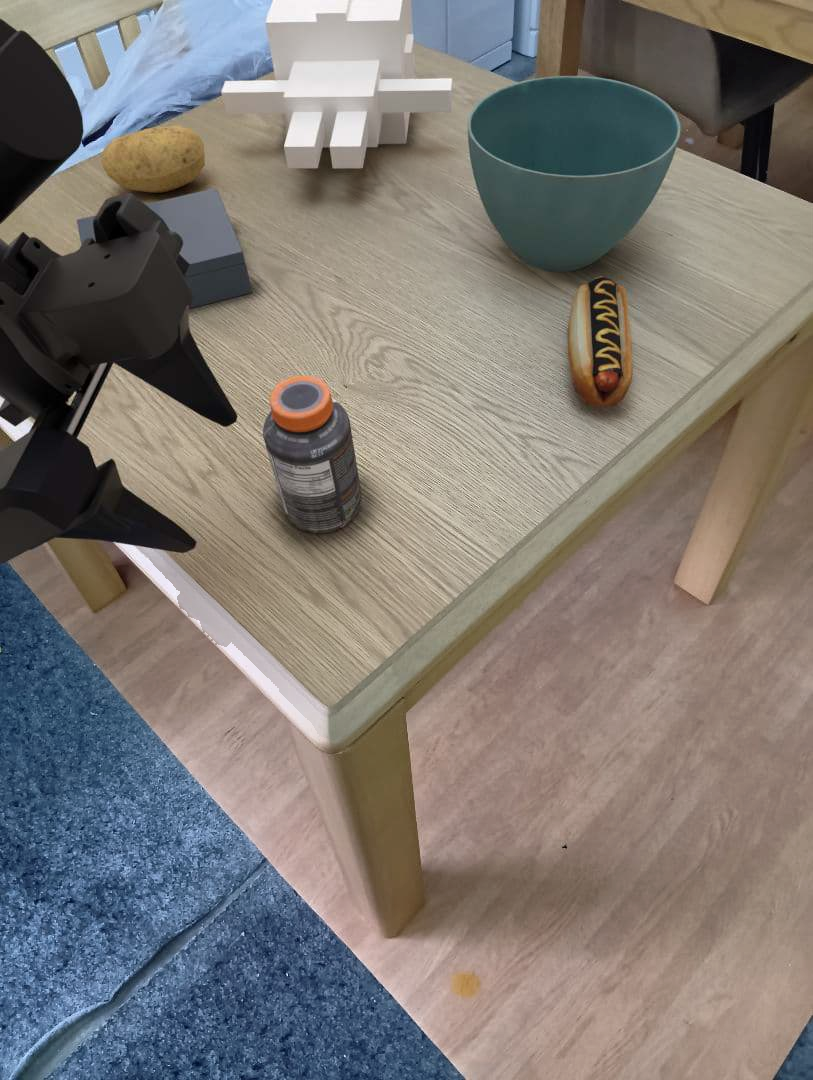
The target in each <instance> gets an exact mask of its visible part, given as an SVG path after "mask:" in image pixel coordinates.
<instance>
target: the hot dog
mask: <svg viewBox="0 0 813 1080" xmlns="http://www.w3.org/2000/svg"><path fill="white" fill-rule="evenodd" d="M570 307H571V308H570V312H569V313H570V315H569V320H568V326H567V359H568V363H569V368H570V373H571V378H572V383H573V386H574V390H575V392H576V393H577V394H578V395H579V396H580V397H581V399H582V400H583V401H584V402H585V404H586V405H589V406H592V407H597V408H610V407H616V406H618V404H620V403H621V402H622V401H623V400H624V398H625V396H626V394H627V393H628V390H629V388H630V386H631V384H632V380H633V350H632V338H631V327H630V317H629V307H628V298H627V292H626V288H625V286H622V285H620V284H618V283H616V282H615V281H614V280H613V279H611V278H609V277H607V276H604V275H601V276H598V277H595V278H594V279H593V280H591V281H589V282H587V283H585V284H581V285H580V286H579V287H578V289H577V290H576V292H575V294H574V296H573V297H572V299H571V306H570Z"/></svg>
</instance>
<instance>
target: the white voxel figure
mask: <svg viewBox="0 0 813 1080" xmlns="http://www.w3.org/2000/svg"><path fill="white" fill-rule="evenodd" d="M412 6H413V5H412V0H272V1H271V4H270V7H269V9H268V13H267V16H266V19H265V21H264V25H265V31H266V35H267V40H268V45H269V51H270V57H271V62H272V68H273V73H274V77H275V80H273V79H272V80H267V79H266V80H224V84H223V86H222V89H221V92H220V93H221V97H222V102H223V106H224V109H225V114H226V115H248V114H249V115H254V114H255V115H256V114H257V115H259V114H261V115H263V114H264V115H266V114H271V115H272V114H273V115H274V114H282V121H283V126H284V131H285V141H284V144H283V150H284V155H285V160H286V166H287V169H318V168H319V165H320V159H321V156H322V153H323V152H322V151H323V148H329V151H330V152H329V153H330V159H331V166H332V169H363V168H364V164H365V159H366V158H365V157H366V152H367V148H378V146H379V145H407V137H408V133H409V132H408V131H409V125H410V116H411V113H452V108H453V107H452V106H453V78H452V77H448V78H439V77H438V78H415V75H416V60H415V59H416V58H415V57H416V56H415V35H414V32H413V31H414V30H413V9H412Z"/></svg>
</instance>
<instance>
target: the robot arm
mask: <svg viewBox="0 0 813 1080" xmlns="http://www.w3.org/2000/svg"><path fill="white" fill-rule="evenodd" d="M83 136H84V120H83V114H82V111H81V108H80V104H79V100H78V99H77V96H76V94H75V92H74V90H73V89H72V87H71V85H70V82H69V81H68V80H67V77H66V76H65V74H64V73H63V71H62V70H61V69H60V68H59V66H58V64H57V62H55V60H53V58H52V57H51V56H50V55H49V54H48V53H47V51H46V50H45V49H44V47H42V45H41V44H39V42H38V41H37V40H35V38H33V37H32V35H31V34H29V33H28V32H26V31H25V30H22V29H20V30H17V29H16V28H14V27H13V26H12V25H11V24H9V23H8V22H6V21H5V20H4V19H2V18H0V225H2V223H4V222H5V221H6V220H7V218H9V217H10V216H11V215H12V214H13V213H14V212H15V211H16V210H17V209H18V208H19V207H20V206H21V205H22V204H23V203H25V201H26V200H27V199H29V198H30V196H31V195H32V194H33V193H34V192H36V191H37V190H38V189H39V188H40V187H41V186H42V185H43V184H44V183H45V182H46V181H47V180H48V179H49V178H50V177H51V176H52V175H53V174H54V173H55V172H56V171H58V170H59V168H61V166H62V165H64V164H65V163H66V161H68V160H69V159H70V158H71V157H72V156H73V155H74V154H75V153H76V152H77V151H78V150H79V148H80V146H81V145H82V141H83ZM145 204H146V203H144V202H143V201H142V200H141V199H140V198H138V197H137V196H136V195H135V194H134V193H132V192H126V193H123V194H119V195H115V196H112V197H111V196H110V197H108V198H106V199H105V200H104V201H103V203H102V204H101V207H100V208H99V210H98V211H97V213H96V214H95V215H96V216H95V215H94V216H95V218H94V220H93V229H94V235H95V241H96V242H95V241H94V239H93V238H92V237H91V238H87V239H85V240H84V242H83V243H82V245H81V244H80V247H79V249H77V250H76V251H73V252H70V253H67V254H64V255H61V254H60V253H58V252H57V251H54V250H53V249H51V248H50V247H49V246H48V245H46V243H44V242H43V241H42V240H40V238H37V237H34V236H31V237H30V236H29V235H27V234H26V233H25V232H24V231H22V232H21V233H19V235H18V236H16V237H15V238H14V239H13V240H12V241H11V242H10V243H7V242H6V241H5V240H3V239H2V238H0V398H1V399H4V400H3V402H2V404H1V405H0V418H1V419H3V420H4V421H6V422H8V423H9V424H10V425H12V426H13V427H17V426H19V425H20V424H22V423H23V422H24V421H26V420H28V419H29V418H32V419H33V420H34V422H33V424H32V425H31V428H30V430H29V432H27V433H25V434H24V435H22V436H21V437H19V438H18V439H17V440H15V441H14V442H12V443H11V444H9V445H8V446H6V447H4V448H3V449H2V450H0V565H3V564H5V563H6V562H8V561H10V560H12V559H15V558H16V557H18V556H20V555H22V554H24V553H26V552H28V551H31V550H34V549H36V548H38V547H40V546H42V545H44V544H46V543H48V542H50V541H52V540H54V539H72V540H73V539H74V540H92V541H102V542H108V543H116V544H121V545H122V544H124V545H129V546H134V547H141V548H146V549H147V548H148V549H153V550H159V551H166V552H173V553H179V554H185V553H187V552H190V551H192V550H195V549H196V546H197V540H196V539H195V538H194V537H193V536H192V535H190V534H189V533H188V532H187V531H186V530H185V529H184V528H182V526H180V525H179V524H177V522H175V521H173V520H172V519H171V518H169V517H168V516H167V515H165V514H163V513H162V512H160V511H159V510H158V509H156V508H155V507H153V505H150V504H149V503H148V502H146V501H145V500H143V499H142V498H140V497H139V496H138V495H136V494H135V493H133V492H132V491H131V490H130V489H128V488H126V487H125V486H124V484H123V482H122V480H121V476H120V473H119V470H118V466H117V464H116V461H115V460H114V459H113V458H110V459H108V460H106V461H105V462H103V463H101V464H99V465H98V466H96V463H95V461H94V457H93V455H92V451H91V449H90V446H88V444H86V443H84V442H83V441H81V440H80V439H79V438H78V437H79V435H80V433H81V431H82V428H83V427H84V424H85V423H86V420H87V418H88V417H89V414H90V412H91V410H92V409H93V406H94V405H95V403H96V400H97V398H98V396H99V395H100V392H101V390H102V387H103V385H104V383H105V381H106V379H107V377H108V375H109V373H110V371H111V370H112V367H113V365H117V366H118V367H120V368H122V369H123V370H125V371H126V372H128V373H130V374H132V375H133V376H135V377H136V378H138V379H139V380H142V381H143V382H145V383H147V384H148V385H150V386H151V387H153V388H155V389H156V390H158V391H160V392H161V393H162V394H165V395H166V396H168V397H170V398H171V399H173V400H175V401H176V402H178V403H179V404H181V405H182V406H184V407H186V408H188V409H189V410H191V411H192V412H194V413H196V414H198V415H199V416H201V417H203V418H205V419H206V420H209V421H211V422H213V423H216V424H217V425H219V426H222V427H224V428H227V427H229V426H231V425H233V424H235V423H236V422H237V419H238V414H237V412H236V410H235V408H234V406H233V405H232V404H231V402H230V399H229V398H228V397H227V395H226V393H225V391H224V389H223V388H222V386H221V385H220V384H219V381H218V379H217V378H216V377H215V375H214V373H213V372H212V369H211V368H210V367H209V366H208V365H209V364H208V363H207V361H206V359H205V358H204V355H203V354H202V353H201V351H200V349H199V347H198V345H197V342H196V341H195V338H194V337H193V334H192V333H191V330H190V321H189V320H190V316H189V315H190V313H189V312H190V308H189V306H190V305H191V304H192V301H193V299H194V293H193V291H192V289H191V288H190V285H189V283H187V281H186V279H185V278H184V276H185V274H186V272H187V269H188V267H189V265H190V264H189V263H188V262H187V261H186V260H185V259H184V258H183V257H182V256H181V255H180V254H179V253H180V251H181V249H182V247H183V240H182V238H181V236H180V235H179V234H177V233H176V232H173V231H170V230H169V228H168V226H167V225H166V223H165V222H164V220H163V219H162V218H161V217H160V216H159V215H157V214H156V213H155V212H154V211H153V210H151V209H150V208H149V207H148V206H147V205H145ZM74 393H75V395H74ZM73 395H74V396H73ZM72 396H73V398H72ZM70 398H72V401H71V403H70V404H68V403H69V402H70Z"/></svg>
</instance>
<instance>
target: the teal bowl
mask: <svg viewBox="0 0 813 1080" xmlns="http://www.w3.org/2000/svg"><path fill="white" fill-rule="evenodd" d="M681 127H682V125H681V121H680V118H679V116H678V115H677V113H676V112H675V110H674V109H673V108H672V107H671V106H670V105H669V104H668V103H667V102H666V101H665V100H663V99H662V98H660V97H659V96H658V95H656V94H655V93H652V92H651V91H648V90H647V89H644V88H641V87H639V86H636V85H633V84H630V83H627V82H623V81H619V80H614V79H609V78H604V77H596V76H584V75H556V76H555V75H554V76H546V77H544V76H543V77H537V78H531V79H526V80H522V81H518V82H516V83H511V84H509V85H506V86H504V87H501V88H499V89H497V90H495V91H493V92H491V93H489V94H488V95H486V96H484V98H482V99H481V100H480V101H478V103H476V105H475V106H474V107H473V108H472V110H471V112H470V114H469V116H468V119H467V137H468V138H467V143H468V151H469V159H470V165H471V169H472V174H473V179H474V182H475V186H476V189H477V193H478V195H479V198H480V200H481V203H482V206H483V208H484V210H485V212H486V214H487V217H488V219H489V220H490V223H491V224H492V226H493V228H494V229H495V231H496V233H497V234H498V235H499V236H500V238H501V239H502V240H503V241H504V243H505V244H506V246H507V247H508V248H509V249H510V250H511V251H512V252H513V253H514V255H515V256H517V258H519V259H520V260H521V261H522V262H523V263H525V264H527V265H529V266H531V267H533V268H535V269H538V270H541V271H542V270H543V271H547V272H554V273H555V272H556V273H561V272H562V273H565V272H571V271H572V272H573V271H577V270H581V269H583V268H586V267H588V266H589V265H592V264H593V263H595V262H597V260H599V259H600V258H602V257H603V256H604V255H606V254H607V253H608V252H609V251H610V250H612V249H613V248H614V247H616V245H618V244H619V243H620V242H621V241H622V240H623V239H624V238H625V237H626V236H627V235H628V234H629V233H630V232H631V231H632V230H633V228H634V227H635V226H636V225H637V223H639V221H640V219H642V217H643V215H645V213H646V212H647V209H648V208H649V207H650V205H651V203H652V202H653V200H654V199H655V197H656V196H657V194H658V192H659V190H660V188H661V186H662V184H663V183H664V180H665V178H666V175H667V173H668V172H669V169H670V166H671V164H672V162H673V159H674V156H675V153H676V150H677V148H678V144H679V140H680V136H681V131H682V130H681V129H682V128H681Z"/></svg>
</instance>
